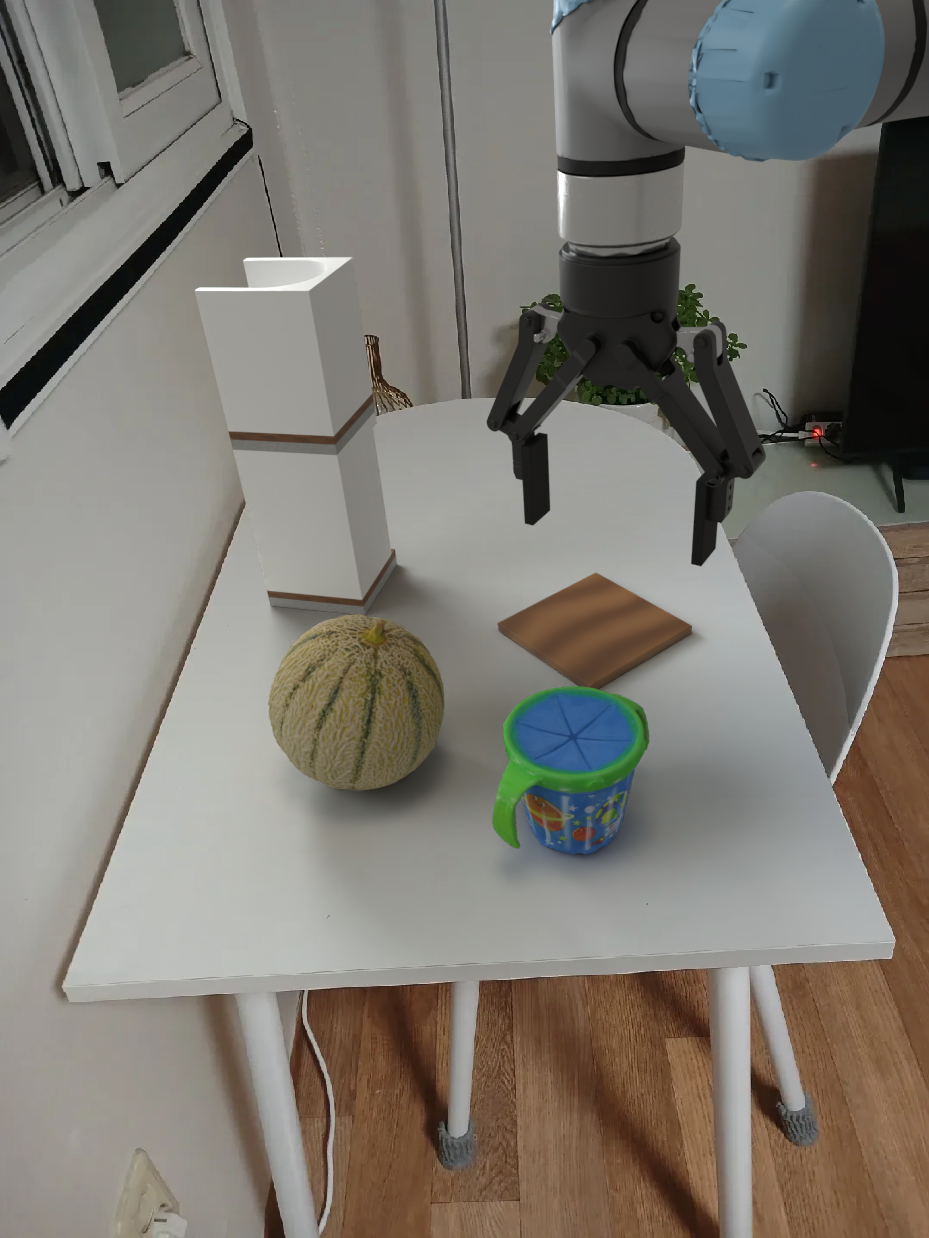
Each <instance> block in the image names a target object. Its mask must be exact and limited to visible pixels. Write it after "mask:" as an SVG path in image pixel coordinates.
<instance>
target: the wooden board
mask: <svg viewBox="0 0 929 1238" xmlns="http://www.w3.org/2000/svg"><path fill="white" fill-rule="evenodd" d="M497 630H498V632H500V633H501V634H503V635H504V636H506V637H507V638H509V639H510V640H511V641H513V642H515V643H516V644H517V645H519V646H520V647H522V648H523V649H525V650H526V651H527V652H528V653H531V654H532V655H534V656H535V657H537V658H538V659H539V660H541V661H542V662H543V663H545V664H547V665H548V666H549V667H551V668H552V669H554V670H555V671H557V673H560V674H561V675H563V676H564V677H565V678H567V679H568V680H570V681H571V682H573V683H574V684H576V686H581V687H589V688H595V689H598V690H600V688H602V687H603V686H606V685H607V684H608V683H610V682H612V681H614V680H615V679H617V678H619V677H621V676H622V675H623V674H625V673H627V672H629V671H631V670H632V669H634V668H636V667H637V666H639V665H641V664H642V663H644V662H646V661H647V660H649V659H651V658H653V657H654V656H656V655H657V654H659V653H661V652H663V651H664V650H666V649H668V648H670V647H671V646H672V645H674V644H676V643H678V642H679V641H681V640H683V639H684V638H686V637H688V636H689V635H691V634H692V631H693V625H692V624H689V623H688V622H686V621H684V620H682V619H681V618H679V617H677V616H675V615H674V614H671V613H670V612H668V611H667V610H665V609H663V608H661V607H659V606H657V605H655V604H653V603H652V602H651V601H649V600H647V599H645V598H643V597H641V596H639V595H638V594H636V593H634V592H632V591H630V590H628V589H627V588H625V587H623V586H621V585H620V584H618V583H616V582H614V581H612V580H611V579H609V578H607V577H605V576H604V575H602V574H600V573H599V572H593V573H592V574H590V575H588V576H586V577H584V578H582V579H580V580H578V581H577V582H574V583H572V584H570V585H569V586H567V587H564V588H563V589H561V590H559V591H557V592H555V593H553V594H551V595H549V596H547V597H544V598H543V599H541V600H540V601H538V602H535V603H533V604H532V605H530V606H528V607H526V608H524V609H522V610H520V611H518V612H516V613H514V614H513V615H511V616H508V617H507V618H504V619H503V620H500V621H498V622H497Z"/></svg>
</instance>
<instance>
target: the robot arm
mask: <svg viewBox="0 0 929 1238" xmlns="http://www.w3.org/2000/svg"><path fill="white" fill-rule="evenodd" d="M552 9H553V12H552V13H553V15H552V16H553V18H552V21H551V23H550V29H549V32H550V37H551V48H552V49H551V50H552V70H553V71H552V73H553V98H554V99H553V100H554V121H555V123H554V124H555V148H556V149H555V150H556V154H557V156H556V158H557V160H556V161H557V169H556V180H557V181H556V182H557V184H556V187H557V189H556V190H557V234H558V236H559V238H560V239H562V240H563V241H564V242H565V243H564V244H563V245H562V248H560V250H559V251H558V269H559V299H560V302H561V304H562V312H559V311H554V310H553V309H552V307H551V305H550V304H549V303H547V302H545V301H542V302H540V303H538V304H536V305H534V306H533V307H531V308H530V309H528V310H526V311H525V312H523V313H521V314H520V316H519V319H518V335H517V336H518V338H517V339H518V340H517V345H516V347H515V350H514V352H513V355H512V357H511V360H510V363H509V365H508V367H507V369H506V371H505V374H504V377H503V379H502V381H501V384H500V387H499V389H498V392H497V394H496V396H495V399H494V401H493V404H492V406H491V409H490V412H489V414H488V416H487V418H486V426H487V428H488V429H489V431H492V432H495V433H496V432H498V431H499V432H501V433H503V434H504V435H506V436H507V437H508V439H509V441H510V442H511V453H512V454H511V455H512V471H513V472H512V473H513V474H514V477H515V479H516V480H518V481H519V480H520V481H522V497H523V499H522V500H523V514H524V515H523V516H524V524H525V525H529V526H533V527H534V526H535V525H536V524H537V523H538V522H539V521H541V520H542V519H543V518H544V517H545V516H546V515H547V514H548V513H549V512H551V493H550V492H551V491H550V490H551V489H550V463H549V462H550V461H549V438H548V436H549V435H548V433H544V432H537V433H536V430H538V429H540V427H542V424H543V423H544V422H545V421H546V420H547V419H548V417H549V416H550V415H551V414H552V413H553V412H554V410H555V409H556V408H557V407H558V406H559V405H560V403H561V402H562V401H563V400H564V399H565V398H566V397H567V396H568V394H569V393H570V392H571V391H572V390H573V388H575V386H576V385H577V384H578V383H579V382H580V381H581V379H582V378H583V377H584V378H585V379H586V380H587V381H590V385H591V386H597V387H606V386H613V387H615V388H618V389H619V390H622V391H629V392H633V391H635V390H636V389H640V390H641V391H642V393H643V394H644V396H645V397H646V398H647V400H648V401H649V402H651V403H655V404H656V405H657V407H658V409H659V410H660V411H661V412H662V414H663V415H664V417H665V418H666V419H667V421H668V422H669V423H670V425H671V426H672V428H673V429H674V431H675V432H676V434H677V435H678V436H679V438H680V439H681V441H682V442H683V444H684V445H685V447H686V448H687V449H688V450H689V452H690V453H691V455H692V456H693V458H694V459H695V460H696V462H697V463H698V465H699V466H700V468H701V469H702V471H703V473H702V474H701V475H700V476H699V477H698V478H697V479H696V480H695V491H694V492H695V495H694V509H693V510H694V511H693V525H692V526H693V527H692V543H691V556H690V557H691V560H690V565H693V566H697V567H702V566H703V565H704V564H705V563H706V562H707V560H708V559H709V558H710V557H711V555H712V554H713V553H714V552H715V551H716V549H717V547H716V546H717V537H718V536H717V535H718V526H719V525H718V523H720V524H722V523H723V522H724V521H725V519H726V518H727V517H728V515H729V514H730V513H731V511H732V510H733V504H734V503H733V502H734V493H735V492H734V491H735V479H737V478H740V479H742V480H748V479H751V478H752V476H753V475H754V474H755V473H756V472H757V471H758V469H759V468H760V467H761V466H762V465H763V463H764V462H765V461H766V458H767V456H766V451H765V449H764V445H763V443H762V441H761V438H760V436H759V433H758V431H757V429H756V425H755V424H754V421H753V419H752V416H751V413H750V411H749V409H748V405H747V403H746V401H745V398H744V395H743V392H742V390H741V388H740V385H739V383H738V380H737V378H736V375H735V373H734V370H733V368H732V365H731V363H730V360H729V357H728V341H727V337H728V336H727V328H726V325H725V324H724V322H722V321H719V320H714V321H711V322H710V323H709V324H708V325H706V326H682V325H681V322H680V320H679V316H678V303H679V296H680V295H679V293H680V274H681V273H680V272H681V250H682V249H681V247H682V246H681V244H680V242H679V241H678V239H676V237H674V236H676V234H677V233H678V232H680V230H681V228H682V219H683V194H684V173H685V172H684V171H685V158H686V147H690V148H695V149H700V150H706V151H710V152H717V153H722V154H728V155H730V156H732V157H735V158H736V157H741V158H742V159H743V160H745V161H749V162H760V163H764V162H766V161H769V160H779V161H780V160H781V161H793V162H796V161H798V162H799V161H800V162H801V161H807V160H811V159H815V158H817V157H821V156H823V155H825V154H826V153H829V151H830V150H831V149H832V148H835V146H836V145H837V144H838V143H839V142H840V141H841V140H842V139H843V138H844V137H845V136H847V135H848V134H850V133H851V132H852V131H854V130H858V129H862V128H867V127H872V126H875V125H877V124H884V123H889V122H895V121H902V120H908V119H914V118H921V117H922V118H923V117H929V0H553V8H552ZM556 335H558V338H559V339H560V341H561V343H562V344H563V346H564V348H565V349H566V351H567V352H568V354H569V356H568V358H566V360H565V361H564V362H563V364H562V365H560V367H559V368H558V370H556V371H555V373H554V375H553V377H552V378H551V380H550V381H549V382H548V383H547V384H546V386H545V387H544V388H543V389H542V390H541V392H540V393H538V395H537V396H536V397H535V399H533V401H532V402H531V403H530V404H529V406H528V407H527V408H526V409H525V411H524V412H523V413H522V414H520V413H519V412H520V409H521V407H522V405H523V402H524V400H525V398H526V396H527V393H528V391H529V389H530V387H531V384H532V381H533V379H534V377H535V375H536V373H537V371H538V368H539V366H540V363H541V361H542V359H543V357H544V354H545V352H546V350H547V347H548V345H549V342H550V341H551V340H552V339H553V340H554V338H555V337H556ZM679 348H680V349H681V350H683V351H684V352H685V355H686V360H687V362H688V363H690V364H694V372H695V376H696V378H697V381H698V384H699V386H700V389H701V391H702V395H703V396H704V399H705V402H706V404H707V407H708V409H709V412H710V413H711V416H712V418H711V417H710V415H709V414H708V412H707V411H706V409H705V408H704V406H703V405H702V403H701V401H699V399H698V398H697V397H696V395H695V393H694V392H693V390H692V389H691V388H690V386H689V385H688V384H687V382H686V380H685V373H684V371H683V370H682V368H681V366H680V365H679V364H678V362H677V360H675V358H674V356H673V355H674V354H675V352H676V351H677V350H678V349H679ZM658 373H659V375H660V377H661V379H660V378H659V376H658V375H657V374H658Z"/></svg>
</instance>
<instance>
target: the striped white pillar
mask: <svg viewBox="0 0 929 1238" xmlns="http://www.w3.org/2000/svg"><path fill="white" fill-rule="evenodd" d="M242 263H243V267H244V271H245V277H246V282H247V286H248V287H198V288H196V289H195V290H194V294H195V300H196V302H197V307H198V312H199V315H200V319H201V323H202V327H203V332H204V336H205V340H206V344H207V348H208V349H207V350H208V352H209V357H210V361H211V365H212V370H213V373H214V378H215V381H216V385H217V390H218V394H219V398H220V402H221V406H222V410H223V414H224V418H225V423H226V428H227V432H228V436H229V439H230V444H231V448H232V452H233V456H234V460H235V464H236V469H237V473H238V477H239V481H240V485H241V489H242V494H243V498H244V503H245V505H246V510H247V514H248V519H249V523H250V527H251V531H252V535H253V539H254V543H255V547H256V551H257V555H258V560H259V563H260V567H261V572H262V577H263V580H264V585H265V588H266V592H267V597H268V601H269V605H270V607H279V608H289V609H299V610H308V611H319V612H328V613H336V614H337V613H338V614H346V615H357V614H361V615H365V616H366V615H367V613H368V611H369V610H370V608H371V606H372V605H373V603H374V602H375V600H376V598H377V597H378V595H379V594H380V592H381V590H382V589H383V587H384V585H385V584H386V582H387V581H388V579H389V577H390V576H391V574H393V571H394V570H395V568H396V567H397V565H398V560H397V553H396V548H391V541H390V535H389V528H388V521H387V514H386V508H385V499H384V494H383V487H382V480H381V474H380V473H381V472H380V467H379V466H380V465H379V459H378V452H377V447H376V446H377V445H376V440H375V439H376V438H375V433H374V432H375V431H374V427H375V426H376V425H377V423H378V422H377V415H376V409H375V402H374V401H375V400H374V394H373V388H372V380H371V373H370V367H369V360H368V353H367V347H366V346H367V345H366V339H365V332H364V325H363V318H362V310H361V303H360V298H359V297H360V296H359V290H358V282H357V275H356V270H355V262H354V257H353V256H331V257H328V256H327V257H325V256H324V257H322V256H321V257H320V256H319V257H316V256H315V257H246V258H245V259H243V261H242Z"/></svg>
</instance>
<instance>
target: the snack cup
mask: <svg viewBox="0 0 929 1238" xmlns="http://www.w3.org/2000/svg"><path fill="white" fill-rule="evenodd" d="M502 724H503V725H502V732H503V745H504V750H505V754H506V757H507V759H508V763H507V765H506V767H505V769H504V771H503V774H502V776H501V779H500V781H499V783H498V786H497V790H496V794H495V800H494V805H493V812H492V819H491V820H492V821H491V824H492V827H493V829H494V832H495V833H496V834H497V835H498V836H499V837H500V839H501V840H503V841H504V842H505V843H506V844H508V845H509V846H510V847H512V848H514V849H516V850H518V849H520V848H521V843H520V841H519V837H518V827H517V813H516V806H517V805H518V803H519V802H520V801H521V802H522V807H523V810H524V814H525V817H526V819H527V823H528V826H529V828H530V830H531V832H532V833H533V835H534V836H535V838H536V839H537V840H538V842H539V843H540V845H542V846H544V847H545V848H548V849H550V848H551V849H553V850H555V851H558V852H561V853H567V854H572V855H576V854H583V855H590V854H594V853H595V852H596V851H597V850H599V849H601V848H605V847H606V846H608V845H609V844H610V843H611V841H612V840H614V838H615V837H616V835H617V834H618V832H619V831H620V829H621V827H622V824H623V822H624V815H625V813H626V807H627V805H628V802H629V801H628V800H629V797H630V792H631V789H632V784H633V778H634V775H635V771H636V770H635V769H636V767H637V766H638V765H639V762H640V761H641V759H642V758H643V756H644V755H645V752H646V751H647V750H648V747H649V744H650V731H649V724H648V718H647V715H646V712H645V710H644V708H643V707H642V706H641V705H640V704H639V703H637V702H635V701H633V700H631V699H629V698H628V697H625V696H624V695H622V694H619V693H615V692H614V693H610V692H607V691H605V690H601V689H595V688H589V687H581V686H579V685H568V686H558V687H553V688H548V689H544V690H541V691H538V692H536V693H533V694H531V695H530V696H528V697H526V698H524V699H523V700H522V701H520V702H519V703H518V704H516V705H515V706H514V707H513V709H512V710H511V711H510V713H509V714H508V716H507V718H506V719H505V720H504V722H503V723H502Z"/></svg>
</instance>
